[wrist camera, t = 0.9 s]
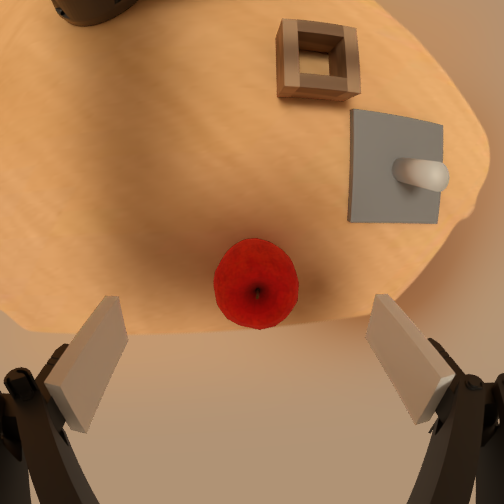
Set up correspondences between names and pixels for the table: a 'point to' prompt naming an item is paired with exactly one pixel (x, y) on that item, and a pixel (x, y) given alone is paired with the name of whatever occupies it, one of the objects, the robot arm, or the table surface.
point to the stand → (395, 169)
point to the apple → (256, 284)
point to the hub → (321, 40)
